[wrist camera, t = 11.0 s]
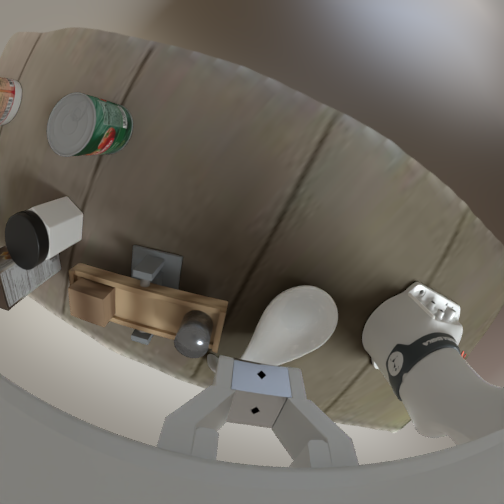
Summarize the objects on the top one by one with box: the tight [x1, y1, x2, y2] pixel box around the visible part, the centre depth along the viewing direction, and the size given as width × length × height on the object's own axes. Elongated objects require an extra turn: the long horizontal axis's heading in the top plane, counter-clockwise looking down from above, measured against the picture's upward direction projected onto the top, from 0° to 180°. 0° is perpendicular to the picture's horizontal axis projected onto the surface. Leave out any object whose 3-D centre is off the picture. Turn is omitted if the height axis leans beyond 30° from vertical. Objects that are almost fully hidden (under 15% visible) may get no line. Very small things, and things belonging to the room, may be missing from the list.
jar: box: [5, 196, 83, 270], centre depth 34 cm, size 9×8×12 cm
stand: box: [131, 245, 183, 345], centre depth 40 cm, size 8×14×6 cm, turn 167°
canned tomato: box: [47, 92, 133, 157], centre depth 30 cm, size 8×8×11 cm
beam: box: [69, 263, 228, 353], centre depth 38 cm, size 24×9×3 cm, turn 77°
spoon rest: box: [207, 285, 338, 372], centre depth 42 cm, size 24×12×7 cm, turn 130°
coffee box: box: [0, 246, 61, 311], centre depth 34 cm, size 9×6×16 cm
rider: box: [68, 277, 116, 327], centre depth 35 cm, size 6×5×4 cm
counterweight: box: [174, 310, 213, 358], centre depth 36 cm, size 4×4×5 cm
